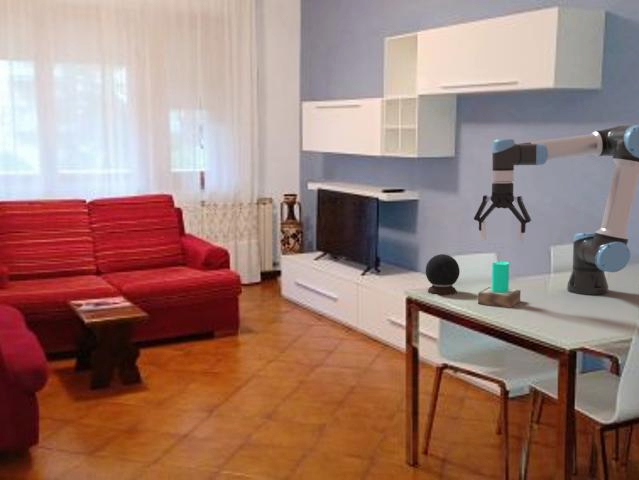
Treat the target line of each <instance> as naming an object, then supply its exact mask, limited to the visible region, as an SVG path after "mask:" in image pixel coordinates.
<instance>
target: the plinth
mask: <svg viewBox="0 0 639 480" xmlns="http://www.w3.org/2000/svg"><path fill="white" fill-rule="evenodd" d="M477 294H478V295H477V304H478V305H484V306H494V307H502V308H503V307H504V308H510V309H511V308H512V307H514V306H516V304H518V303H519V302H521V290H519V289H512V288H511V289H510V288H508V292H506V293H497V292H493V291H492V286H491V287H487V288H484V289H482V290H481V291H480V292H478V293H477Z"/></svg>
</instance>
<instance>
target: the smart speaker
mask: <svg viewBox="0 0 639 480" xmlns="http://www.w3.org/2000/svg"><path fill="white" fill-rule="evenodd" d="M460 272H461V271H460V266H459V263H458V262H457V260H456V259H455V258H454V257H453V256H451V255H449V254H446V253H445V254H444V253H443V254H437V255H434V256H433V257H432V258H430V259H429V260H428V262H427V264H426V266H425V275H426V279H427V280H428V282H429V283H430V284H431V286H429V288H428V289H427V293H428V294H430V293H431V294H430V295H434V294H439V295H438V296H451V295H450V294H453V295H456V294H457V293H458V292H457V291H458V290H457V288H456V287H454V286H453V285H455V283H457V281H458V279H459V276H460ZM455 293H456V294H455Z"/></svg>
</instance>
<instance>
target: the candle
mask: <svg viewBox="0 0 639 480" xmlns="http://www.w3.org/2000/svg"><path fill="white" fill-rule="evenodd" d="M491 266H492V267H491V287H492V291H493V292H497V293H506V292H508V289H509V283H510V282H509V281H510V277H509V276H510V262H507V261H497V262H495V261H494V262H493V261H492V263H491Z"/></svg>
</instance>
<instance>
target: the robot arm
mask: <svg viewBox="0 0 639 480" xmlns="http://www.w3.org/2000/svg"><path fill="white" fill-rule="evenodd" d="M491 153H492V154H491V155H492V160H491V161H492V165H491V166H492V171H491V182H492V184H491V195H488V194H485V195H482V196H483V197H482V200H481V201H482V202H481V203H480V205H479V207H478V209H477V211H476V213H475V216H474V217H473V219H474V220H475V221H477V222H478V230H479V232H480V234H481V236H480V237H481V238H480V240H481V241H485V240H486V235H487V232H486V231H487V227H486V226H487V222H486V221H485V219H487V218H488V216H489V215H490V214H492V212H493V211H494V210H495V209H501V208H502V209H509V210H510V211H511V213H512V214H513V215H514V217H515V218H516V220H517V221H519V224H518V233H517V234H518V238H517V239H518V240H517V243H522V242H523V238H524V237H523V235H524V234H525V233H526V227H527V223H530V222H531V221H532V219H531V216H530V214H529V212H528V210H527V208H526V206H525V204H524V201H523V200H524V199H523V196H522V195H518V196H515V195H514V183H513V181H514V177H515V173H514V172H515V166H536V167H537V166H542V165H545V164H546V163H547V161H551V160H558V159H566V158H574V157H575V158H576V157H582V156H589V155H593V156H594V157H605V156H607V157H608V156H609V157H612V161H613V163H614V164H615V167H614V170H613V173H612V174H613V175H612V179H611V183H610V188H609V193H608V196H607V200H606V204H605V205H606V206H605V209H604V213H603V217H602V222H601V226H600V228H599V229H597V230H596V231H594V232H583V233H582V232H581V233H580V232H578V233H575V234H574V237H573V242H572V243H573V247H572V249H573V252H572V253H573V254H572V271H571V274H570V277H569V279H568V281H567V284H566V285H567V286H566V290H567V291H568V292H571V293H573V294H574V293H575V294H578V295H579V294H581V295H591V296H592V295H595V296H596V295H597V296H598V295H605V294H608V293H609V284H608V281H607V277H606V273H605V272H607V273H616V272H620V271H622V270H624V268H626V266H627V265H628V264H629V262H630V261H631V250H630V249H629V246H628V243H629V237H628V235H627V234H626V232H627V228H628V222H629V218H630V215H631V210H632V207H633V201H634V196H635V193H636V189H637V185H638V182H639V124H633V125H617V126H614V127H610V128H606V129H601V130H595V131H594V130H593V131H592V133H591V134H585V135H575V136H569V137H560V138H554V139H553V138H552V139H544V140H537V141H530V142H522V143H515V140H514V138H507V139H505V138H503V139H501V138H500V139H499V138H498V139H495V140H494V141H493V143H492V151H491ZM489 201H491V202H492V204H491V205H490V206H489V207H488V208H487V210H486V211H485V212H484V210H485V207H486V206H487V204H488V202H489ZM514 201H515V203H517V205H518V207H519V209H520V211H521V213H522V214H521V213H520V212H519V211H518V210H517V208H516V206H515V205H514V204H513V203H514ZM483 212H484V213H483ZM522 215H523V216H522Z"/></svg>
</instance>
